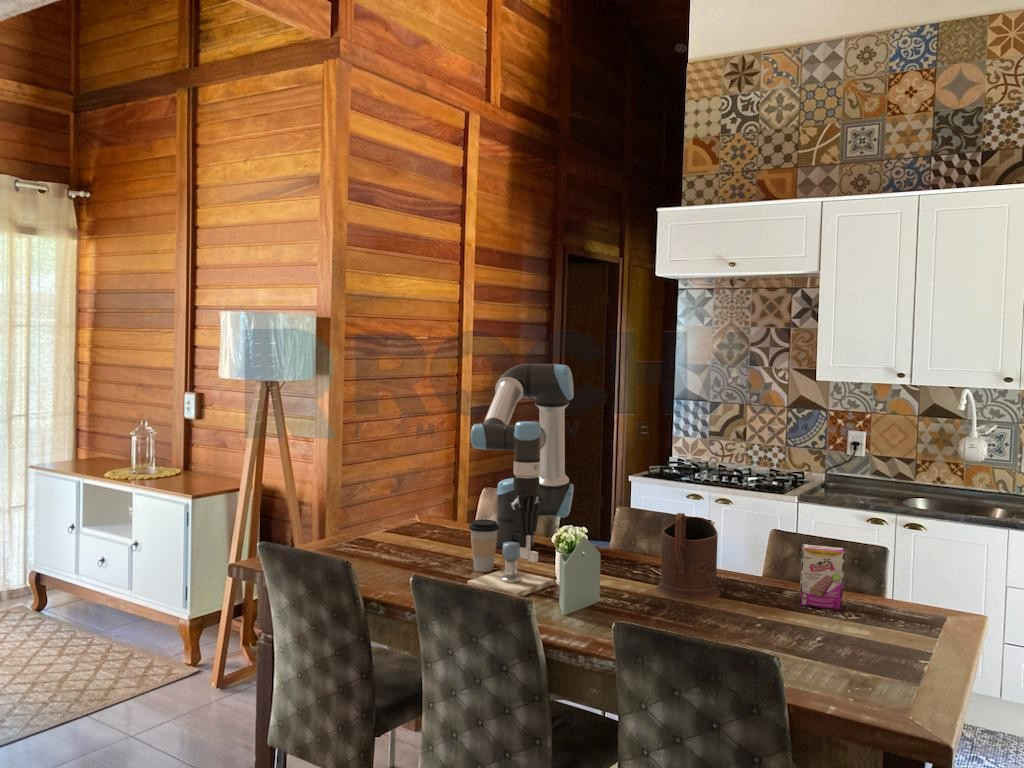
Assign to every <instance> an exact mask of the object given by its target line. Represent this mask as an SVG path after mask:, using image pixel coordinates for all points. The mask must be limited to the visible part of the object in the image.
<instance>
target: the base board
mask: <svg viewBox="0 0 1024 768" xmlns="http://www.w3.org/2000/svg"><path fill="white" fill-rule="evenodd" d="M503 575H505V568H504V569H500V570H497V571H494V572H491V573H488V574H485V575H481V576H479V577H475V578H472V579H469V580H467V582H466V583H467V584H468V585H473V586H478V587H482V588H486V589H492V590H497V591H502V592H506V593H510V594H513V595H518V596H521V597H525V596H526V595H528V594H529V595H530V594H532V593H535V592H537V591H540V590H543V589H545V588H548V587H550V586H553V585H554V579H552V578H549V577H544V576H540V575H536V574H531V573H526V572H522V571H518V570H517V576H520V577H521V581H520V582H518V583H505V582H502V581H501V580H500V577H501V576H503Z"/></svg>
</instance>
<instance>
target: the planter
mask: <svg viewBox="0 0 1024 768" xmlns="http://www.w3.org/2000/svg"><path fill="white" fill-rule="evenodd" d="M600 588H601V552H600V551H599V550H598V549H597V548H596V547H595V546H594V545H593V544H592V543H591V542H590V540H588V538H587V537H586V536H584V535H582V537H581V539H580V540H579V542H578V543H577V544H576V547H575V548H574V550H573V551H572V553H561V554H560V555H559V595H558V596H559V597H558V599H559V600H558V603H559V604H558V606H559V608H560V610H561V613H562V615H563V616H567V615H570V614H572V613H575V612H576V611H579V610H582V609H585V608H587V607H590V606H592V605H595V604H597V603H600V600H601V597H600V594H601V590H600Z"/></svg>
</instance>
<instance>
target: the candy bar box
mask: <svg viewBox="0 0 1024 768" xmlns="http://www.w3.org/2000/svg"><path fill="white" fill-rule="evenodd" d="M801 549H802V550H801V567H800V584H799V585H800V586H799V606H805V607H813V608H820V609H830V610H837V611H842V609H843V607H842V606H843V595H844V594H843V592H844V591H843V590H844V589H843V587H844V574H845V573H844V571H845V570H844V569H845V568H844V567H845V549H844V547H835V546H827V545H826V546H825V545H823V546H822V545H815V544H806V543H805V544H804V543H803V544H802V548H801Z"/></svg>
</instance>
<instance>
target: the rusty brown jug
mask: <svg viewBox="0 0 1024 768" xmlns="http://www.w3.org/2000/svg"><path fill="white" fill-rule="evenodd" d="M674 519H675V521H674V522H673V523H670V524H669V525H668V526H666V527H665V528H663V529H662V531H661V557H660V559H661V561H660V579H659V583H658V584H657V586H656V587H655V590H656V592H657V593H658V594H659V595H663V596H664V597H668V598H671V599H677V600H681V601H682V600H683V601H694V602H695V601H708V600H714V599H717V598H719V597H720V596H721V594H722V593H721V591H720V589H719V588H718V587H719V586H718V582H717V571H718V569H717V566H718V565H717V564H718V563H717V562H718V538H719V537H718V535H719V533H718V531H717V529H716V527H715V526H714V524H713V523H712V522H711V521H710V520H708V519H706V518H704V517H698V516H686V514H685V513H683V512H682V513H681V512H678V513H677V514H676V517H675V518H674Z"/></svg>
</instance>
